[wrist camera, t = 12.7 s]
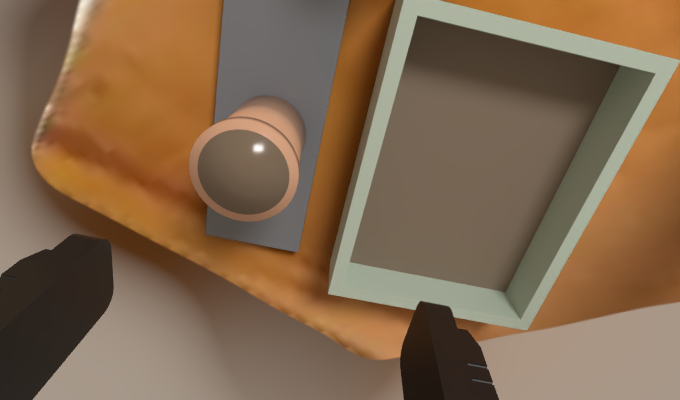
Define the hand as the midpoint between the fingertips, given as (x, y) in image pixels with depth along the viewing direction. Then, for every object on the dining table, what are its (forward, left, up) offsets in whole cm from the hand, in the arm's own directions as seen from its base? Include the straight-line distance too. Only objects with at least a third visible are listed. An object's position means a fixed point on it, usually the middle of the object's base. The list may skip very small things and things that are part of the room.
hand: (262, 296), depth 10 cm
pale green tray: (-12, +3, -22) cm, 25 cm away
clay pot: (+3, +3, -21) cm, 21 cm away
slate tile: (+3, +3, -22) cm, 22 cm away
